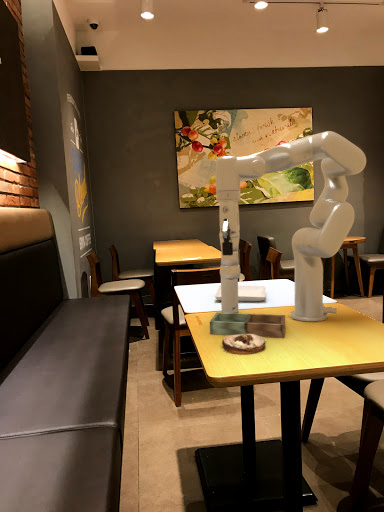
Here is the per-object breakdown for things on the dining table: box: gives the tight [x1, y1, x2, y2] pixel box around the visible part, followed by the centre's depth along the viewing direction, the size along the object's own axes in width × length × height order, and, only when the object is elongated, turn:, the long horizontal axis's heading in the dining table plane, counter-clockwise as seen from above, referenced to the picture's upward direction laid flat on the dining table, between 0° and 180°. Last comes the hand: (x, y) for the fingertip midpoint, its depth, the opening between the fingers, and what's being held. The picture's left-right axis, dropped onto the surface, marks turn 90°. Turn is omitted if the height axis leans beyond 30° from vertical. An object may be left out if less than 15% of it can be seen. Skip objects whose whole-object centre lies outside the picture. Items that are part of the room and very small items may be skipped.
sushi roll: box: [221, 334, 267, 355], centre depth 114 cm, size 15×15×4 cm
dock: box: [209, 312, 286, 339], centre depth 128 cm, size 23×11×4 cm, turn 75°
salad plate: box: [214, 285, 267, 303], centre depth 174 cm, size 21×21×3 cm
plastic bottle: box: [218, 224, 241, 280], centre depth 127 cm, size 6×7×20 cm
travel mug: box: [220, 277, 239, 313], centre depth 147 cm, size 6×7×20 cm
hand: (229, 253), depth 127 cm, fingers closed on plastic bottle, 6 cm apart
